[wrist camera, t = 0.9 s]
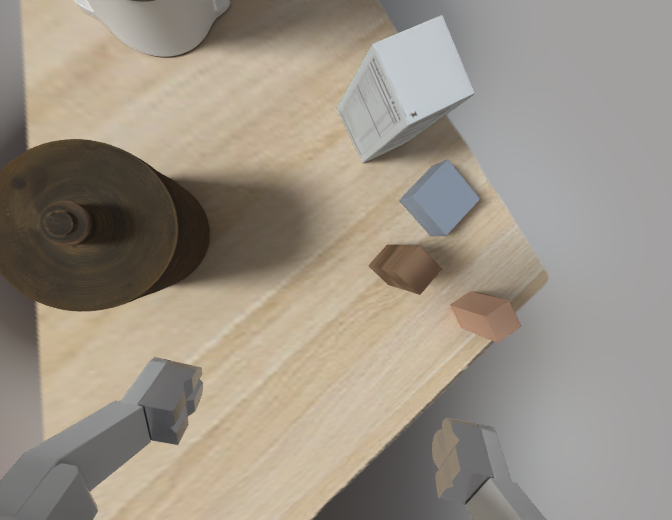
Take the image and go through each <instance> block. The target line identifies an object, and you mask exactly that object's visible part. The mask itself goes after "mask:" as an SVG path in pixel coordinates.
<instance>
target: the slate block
mask: <svg viewBox="0 0 672 520" xmlns="http://www.w3.org/2000/svg"><path fill="white" fill-rule="evenodd" d="M479 200H480V198H479V197H478V196H477V194H476V193H475V192H474V191H473V190H472V188H471V187H470V186H469V185H468V183H467V182H466V181H465V180H464V179H463V177H462V176H461V175H460V174H459V172H458V171H457V170H456V169H455V168H454V166H453V165H452V164H451V163H450V161H449V160H448V159H447V160H445V161H443V162H441V163H438V164H436V165H434V166H431V167H430V168H429V170H428V171H427V172H426V173H425V174H424V175H423V176H422V177H421V178H420V179H419V180H418V181H417V182H416V183H415V184H414V185H413V186H412V187H411V188H410V189H409V190H408V191H407V192H406V193H405V194H404V195H403V197H402V198H401V199H400V200H399V201H400V202H401V203H402V205H403V206H404V207H405V208H406V209H407V210H408V211H409V213H410V214H411V215H412V216H413V217H414V218H415V219H416V220H417V222H418V223H419V224H420V225H421V226H422V227H423V228H424V229H425V231H426V232H427V233H428V234H429V235H430V236H446V235H447V234H448V233H449V232H450V231H451V230H452V229H453V228H454V227H455V226H456V225H457V223H458V222H459V221H460V220H461V219H462V218H463V217H464V216H465V215H466V214H467V213H468V212H469V210H470V209H471V208H472V207H473V206H474V205H475V204H476V203H477V202H478V201H479Z"/></svg>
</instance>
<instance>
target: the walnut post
mask: <svg viewBox="0 0 672 520" xmlns="http://www.w3.org/2000/svg"><path fill="white" fill-rule="evenodd" d="M369 267H370V268H371V269H372V270H373V271H374V272H375V273H376V274H377V275H379V276H380V277H381V278H382V279H383V280H384V281H385V282H386V283H387V284H388V285H391V286H394V287H397V288H400V289H403V290H406V291H410V292H413V293H416V294H419V295H420V294H421V293H422V292H423V291H424V290H425V289H426V287H427V286H428V285H429V284H430V283H431V281H432V280H433V279H434V278H435V277H436V276H437V274H438V273H439V272H440V271H441V270H442V268H441V267H440V266H439V265H438V264H437V263H436V262H435V261H434V260H433V259H432V258H431V257H430V256H429V255H428V254H427V253H426V252H425V251H424V250H423V249H422V248H421V247H420V246H419V245H386V247H385V248H384V249H383V250H382V251H381V252H380V253H379V255H378V256H377V257H376V258H375V259H374V260H373V261H372V262H371V264H370V265H369Z"/></svg>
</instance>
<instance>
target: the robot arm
mask: <svg viewBox="0 0 672 520" xmlns="http://www.w3.org/2000/svg"><path fill="white" fill-rule="evenodd" d="M74 1H75V3H76V4H77V6H78V7H79V8H80V9H81V10H83V11H84V12H86V13H88V14H89V15H91V16H93V17H95V18H97V19H99V20H100V21H101V22H102V23H103V24H104V25H105V26H106V27H107V28H108V29H109V30H110V31H111V32H112V33H113V34H114V35H115V36H116V37H117V38H118V39H119V40H120V41H122V42H123V43H124V44H126V45H127V46H129V47H131V48H133V49H135V50H137V51H139V52H142V53H145V54H148V55H153V56H162V57H167V56H175V55H180V54H183V53H186V52H188V51H190V50H192V49H193V48H195V47H196V46H197V45H199V44H200V43H201V42H202V41H203V39H204V38H205V37H206V35H207V34H208V32H209V30H210V28H211V26H212V24H213V22H214V21H215V19H216V18H217V17H219V16H220V15H221V14H223V13H224V12H225V11H226V10H227V9H228V8H229V6H230V0H74ZM201 375H202V367H197V366H193V365H188V364H184V363H179V362H175V361H171V360H166V359H161V358H156V357H154V358H153V359H152V360H151V361H149V363H148V364H147V365H146V367H145V368H144V370H143V371H142V372H141V374H140V375H139V376H138V378H137V379H136V380H135V382H134V383H133V385H132V386H131V387H130V389H129V390H128V391H127V393H126V394H125V395H124V397H123V398H122V400H121V401H114V402H112V403H110V404H109V405H107V406H105V407H103V408H102V409H100V410H98V411H97V412H95V413H93V414H91V415H90V416H88V417H86V418H84V419H83V420H81V421H79V422H77V423H76V424H74V425H72V426H71V427H69V428H67V429H65V430H64V431H62V432H60V433H58V434H57V435H55V436H53V437H51V438H50V439H48V440H46V441H44V442H43V443H41V444H40V445H38V446H36V447H34V448H32V449H31V450H29V451H27V452H25V453H24V454H23V455H22V456H21V457H20V458H19V459H18V461H17V462H16V463H15V464H14V465H13V466H12V468H11V469H10V470H9V471H8V472H7V473H6V474H5V475H4V476H3V478H2V479H1V480H0V520H93V518H94V517H95V515H96V513H97V512H98V510H97V505H96V503H95V501H94V499H93V497H92V495H91V493H90V491H91V490H92V489H93V488H95V487H96V486H97V485H98V484H100V483H101V482H102V481H103V480H105V479H106V478H107V477H108V476H109V475H111V474H112V473H113V472H114V471H116V470H117V469H118V468H119V467H121V466H122V465H123V464H124V463H126V462H127V461H128V460H129V459H130V458H132V457H133V456H134V455H135V454H137V453H138V452H139V451H140V450H142V449H143V448H144V447H145V446H146V445H148V444H149V443H150V442H151V440H152V441H158V442H164V443H170V444H175V445H178V444H179V442H180V440H181V438H182V436H183V434H184V432H185V430H186V428H187V426H188V416H189V415H191V414H192V413H194V412H195V410H196V408H197V406H198V404H199V402H200V399H201V396H202V391H203V382H202V381H201V380H200V377H201ZM442 427H443V429H441V430H438V431H437V432H436V434H435V436H434V439H433V445H432V454H433V461H434V462H435V464H436V465H437V467H438V468H439V470H438V472H437V473H436V475H435V477H436V484H437V491H438V498H439V499H443V500H448V501H452V502H456V503H460V504H465V508H466V509H467V511H468V513H469V515H470V516H471V518H472V520H546V519H545V517H544V516H543V515H542V514H541V512H540V511H539V510H538V509H537V508H536V506H535V505H534V504H533V503H532V501H531V500H530V499H529V498H528V496H527V495H526V494H525V493H524V492H523V490H522V489H521V488H520V487H519V485H518V484H517V483H514V482H512V480H511V477H510V474H509V471H508V468H507V464H506V461H505V458H504V455H503V452H502V449H501V446H500V443H499V439H498V436H497V433H496V431H495V429H494V428H493V427H490V426H485V425H480V424H476V423H472V422H467V421H461V420H455V419H450V418H446V419H444V421H443V422H442Z"/></svg>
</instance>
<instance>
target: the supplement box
mask: <svg viewBox="0 0 672 520" xmlns="http://www.w3.org/2000/svg"><path fill="white" fill-rule="evenodd" d="M474 94H475V92H474V90H473V88H472V85H471V83H470V80H469V78H468V76H467V73H466V71H465V68H464V66H463V64H462V61H461V59H460V56H459V54H458V52H457V49H456V47H455V44H454V42H453V39H452V37H451V35H450V32H449V30H448V27H447V25H446V22H445V20H444V17H443V15H441V16H438V17H436V18H433V19H431V20H428V21H426V22H424V23H421V24H419V25H417V26H414V27H412V28H410V29H407V30H405V31H402V32H400V33H397V34H395V35H392V36H390V37H388V38H385V39H383V40H381V41H378V42H375V43H373V44H372V46H371V47H370V49H369V51H368V53H367V54H366V56H365V58H364V60H363V61H362V63H361V65H360V67H359V69H358V70H357V72H356V74H355V76H354V77H353V79H352V81H351V83H350V85H349V86H348V88H347V90H346V92H345V94H344V95H343V97H342V99H341V100H340V102H339V104H338V106H337V111H338V113H339V115H340V117H341V119H342V121H343V123H344V126H345V128H346V130H347V132H348V134H349V136H350V138H351V140H352V142H353V144H354V146H355V149H356V151H357V153H358V155H359V157H360V159H361V161H362V163H365V162H367V161H369V160H372V159H374V158H376V157H378V156H380V155H382V154H384V153H386V152H389V151H391V150H393V149H395V148H397V147H399V146H401V145H403V144H405V143H406V142H408V141H410V140H411V139H412V138H414V137H415V136H417V135H418V134H419V133H421V132H422V131H424V130H425V129H426V128H428V127H429V126H431V125H432V124H433V123H435V122H436V121H438V120H439V119H440V118H442V117H443V116H445V115H446V114H447V113H449V112H450V111H451V110H453V109H454V108H456V107H457V106H459V105H460V104H461V103H463V102H464V101H466V100H467V99H468V98H470V97H471V96H473V95H474Z"/></svg>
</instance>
